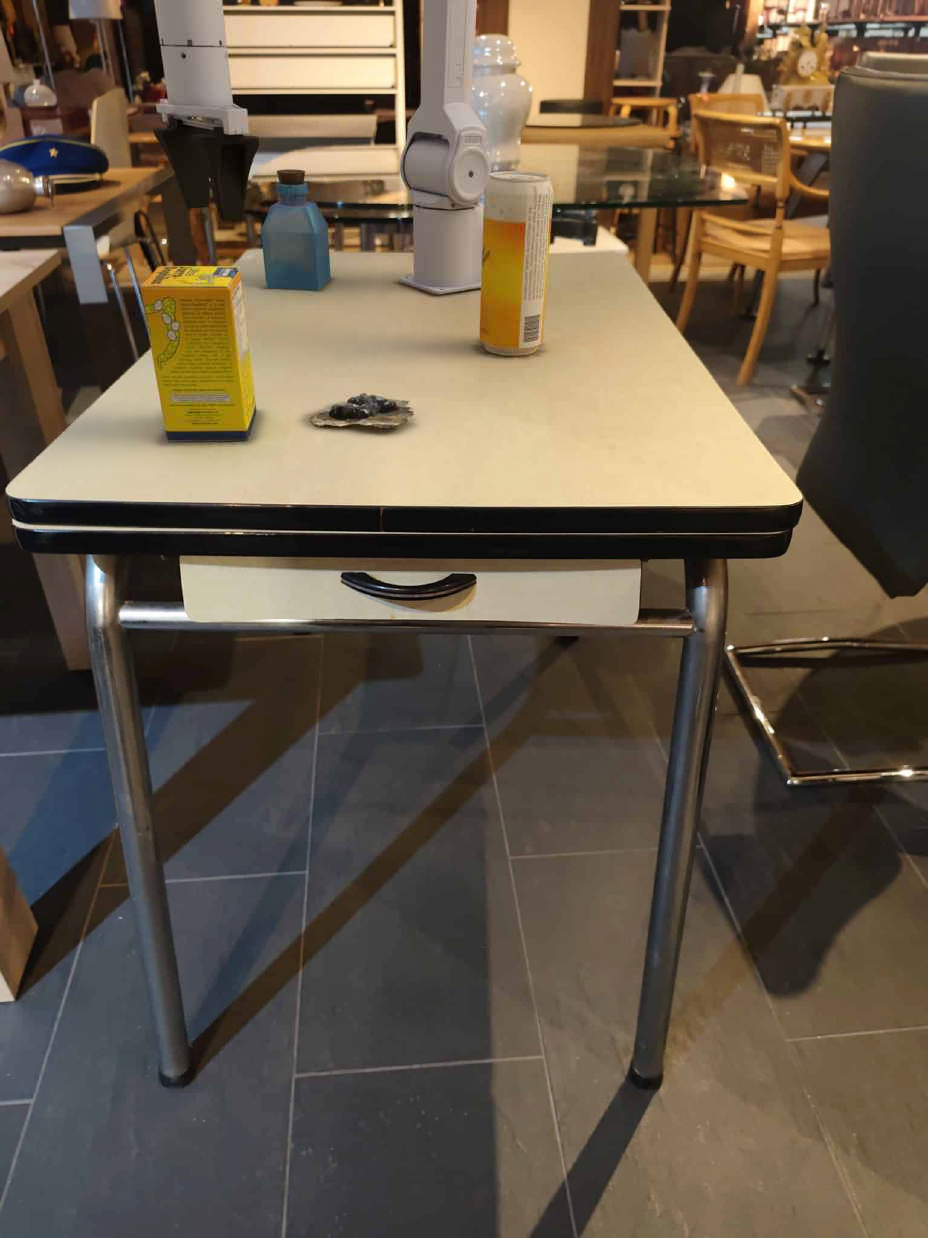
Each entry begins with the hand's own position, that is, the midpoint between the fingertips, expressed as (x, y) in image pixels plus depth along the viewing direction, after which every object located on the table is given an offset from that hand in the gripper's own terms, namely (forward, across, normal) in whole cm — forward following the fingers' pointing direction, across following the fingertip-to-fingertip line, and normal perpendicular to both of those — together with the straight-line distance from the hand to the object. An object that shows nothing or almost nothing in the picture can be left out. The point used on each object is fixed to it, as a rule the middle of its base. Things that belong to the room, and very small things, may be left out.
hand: (214, 213), depth 86 cm
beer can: (+10, +24, +18) cm, 32 cm away
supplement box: (+10, +27, -14) cm, 32 cm away
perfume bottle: (+10, -10, +14) cm, 20 cm away
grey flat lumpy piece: (+10, +32, -4) cm, 34 cm away
